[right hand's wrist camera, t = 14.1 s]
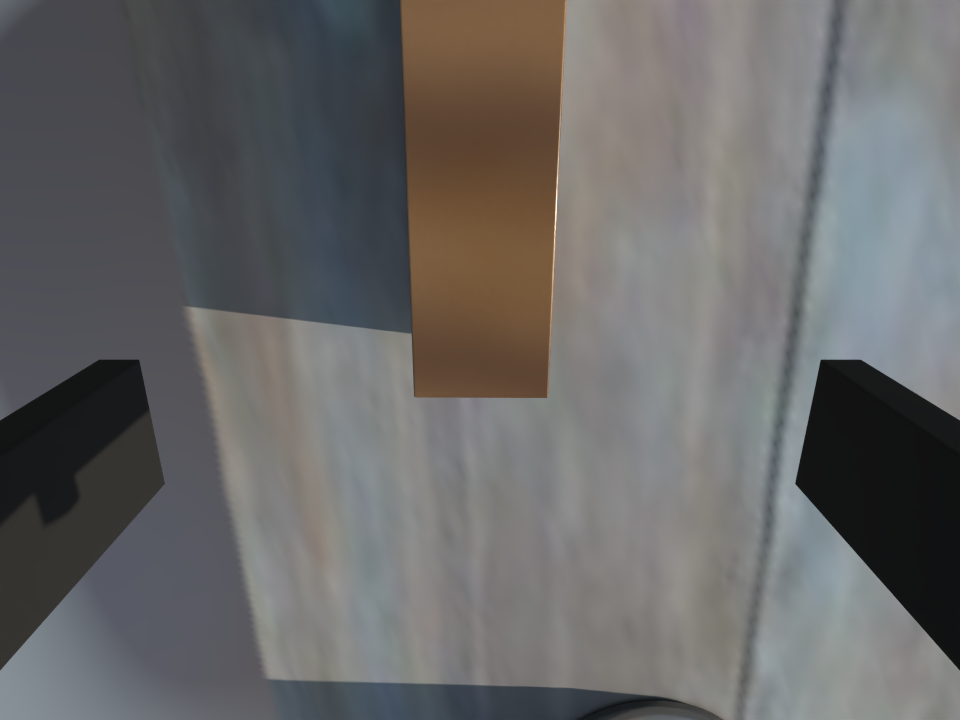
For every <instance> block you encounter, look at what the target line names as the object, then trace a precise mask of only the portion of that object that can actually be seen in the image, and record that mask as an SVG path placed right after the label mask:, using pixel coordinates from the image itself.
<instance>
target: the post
mask: <svg viewBox="0 0 960 720" xmlns="http://www.w3.org/2000/svg"><path fill="white" fill-rule="evenodd" d="M566 2H567V0H400V21H401V49H402V76H403V104H404V131H405V159H406V187H407V214H408V242H409V270H410V297H411V325H412V353H413V380H414V396H415V397H479V398H547V397H548V388H549V367H550V345H551V324H552V302H553V281H554V259H555V238H556V216H557V195H558V174H559V152H560V131H561V109H562V88H563V66H564V45H565V23H566Z"/></svg>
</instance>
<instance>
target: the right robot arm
mask: <svg viewBox="0 0 960 720" xmlns="http://www.w3.org/2000/svg"><path fill="white" fill-rule="evenodd" d="M164 484H165V483H164V478H163V473H162V468H161V463H160V459H159V454H158V449H157V444H156V439H155V434H154V430H153V425H152V420H151V415H150V410H149V405H148V401H147V396H146V391H145V386H144V381H143V376H142V372H141V367H140V362H139V360H98V361H97V362H95V363H93V364H92V365H90V366H88V367H87V368H85V369H83V370H82V371H80V372H79V373H77V374H75V375H74V376H72V377H70V378H69V379H67V380H66V381H64V382H62V383H61V384H59V385H57V386H56V387H54V388H53V389H51V390H49V391H48V392H46V393H44V394H43V395H41V396H39V397H38V398H36V399H35V400H33V401H31V402H30V403H28V404H26V405H25V406H23V407H22V408H20V409H18V410H17V411H15V412H13V413H12V414H10V415H9V416H7V417H5V418H4V419H2V420H0V670H1V669H2V668H3V666H4V665H5V664H6V663H7V662H8V661H9V660H10V659H11V657H12V656H13V655H14V654H15V653H16V652H17V651H18V650H19V648H20V647H21V646H22V645H23V644H24V643H25V642H26V640H27V639H28V638H29V637H30V636H31V635H32V634H33V633H34V631H35V630H36V629H37V628H38V627H39V626H40V625H41V623H42V622H43V621H44V620H45V619H46V618H47V617H48V616H49V614H50V613H51V612H52V611H53V610H54V609H55V608H56V606H57V605H58V604H59V603H60V602H61V601H62V600H63V598H64V597H65V596H66V595H67V594H68V593H69V592H70V591H71V589H72V588H73V587H74V586H75V585H76V584H77V583H78V581H79V580H80V579H81V578H82V577H83V576H84V575H85V574H86V572H87V571H88V570H89V569H90V568H91V567H92V566H93V564H94V563H95V562H96V561H97V560H98V559H99V558H100V557H101V555H102V554H103V553H104V552H105V551H106V550H107V549H108V547H109V546H110V545H111V544H112V543H113V542H114V541H115V539H116V538H117V537H118V536H119V535H120V534H121V533H122V532H123V530H124V529H125V528H126V527H127V526H128V525H129V524H130V523H131V521H132V520H133V519H134V518H135V517H136V516H137V514H138V513H139V512H140V511H141V510H142V509H143V508H144V507H145V506H146V504H147V503H148V502H149V501H150V500H151V499H152V498H153V496H154V495H155V494H156V493H157V492H158V491H159V490H160V489H161V487H162V486H163V485H164ZM795 484H796V485H797V486H798V487H799V489H800V490H801V491H802V492H803V493H804V494H805V495H806V496H807V498H808V499H809V500H810V501H811V502H812V503H813V504H814V506H815V507H816V508H817V509H818V510H819V511H820V512H821V513H822V515H823V516H824V517H825V518H826V519H827V520H828V521H829V523H830V524H831V525H832V526H833V527H834V528H835V529H836V530H837V532H838V533H839V534H840V535H841V536H842V537H843V538H844V540H845V541H846V542H847V543H848V544H849V545H850V546H851V547H852V549H853V550H854V551H855V552H856V553H857V554H858V555H859V557H860V558H861V559H862V560H863V561H864V562H865V563H866V564H867V566H868V567H869V568H870V569H871V570H872V571H873V572H874V574H875V575H876V576H877V577H878V578H879V579H880V580H881V582H882V583H883V584H884V585H885V586H886V587H887V588H888V589H889V591H890V592H891V593H892V594H893V595H894V596H895V597H896V599H897V600H898V601H899V602H900V603H901V604H902V605H903V606H904V608H905V609H906V610H907V611H908V612H909V613H910V614H911V616H912V617H913V618H914V619H915V620H916V621H917V622H918V623H919V625H920V626H921V627H922V628H923V629H924V630H925V631H926V633H927V634H928V635H929V636H930V637H931V638H932V639H933V640H934V642H935V643H936V644H937V645H938V646H939V647H940V648H941V650H942V651H943V652H944V653H945V654H946V655H947V656H948V657H949V659H950V660H951V661H952V662H953V663H954V664H955V665H956V667H957V668H958V669H959V670H960V420H958V419H956V418H955V417H953V416H952V415H950V414H948V413H947V412H945V411H943V410H942V409H940V408H939V407H937V406H935V405H934V404H932V403H930V402H929V401H927V400H925V399H924V398H922V397H921V396H919V395H917V394H916V393H914V392H912V391H911V390H909V389H908V388H906V387H904V386H903V385H901V384H899V383H898V382H896V381H894V380H893V379H891V378H890V377H888V376H886V375H885V374H883V373H881V372H880V371H878V370H877V369H875V368H873V367H872V366H870V365H868V364H867V363H865V362H864V361H862V360H821V362H820V367H819V371H818V376H817V381H816V386H815V391H814V396H813V401H812V405H811V410H810V415H809V420H808V425H807V430H806V434H805V439H804V444H803V449H802V454H801V459H800V463H799V468H798V473H797V478H796V483H795ZM582 720H723V719H721V718H720V717H718V716H716V715H714V714H713V713H711V712H708V711H706V710H704V709H701V708H698V707H695V706H692V705H688V704H684V703H678V702H672V701H638V702H631V703H625V704H620V705H616V706H613V707H609V708H606V709H604V710H601V711H598V712H596V713H594V714H592V715H589V716H587V717H586V718H584V719H582Z"/></svg>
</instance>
